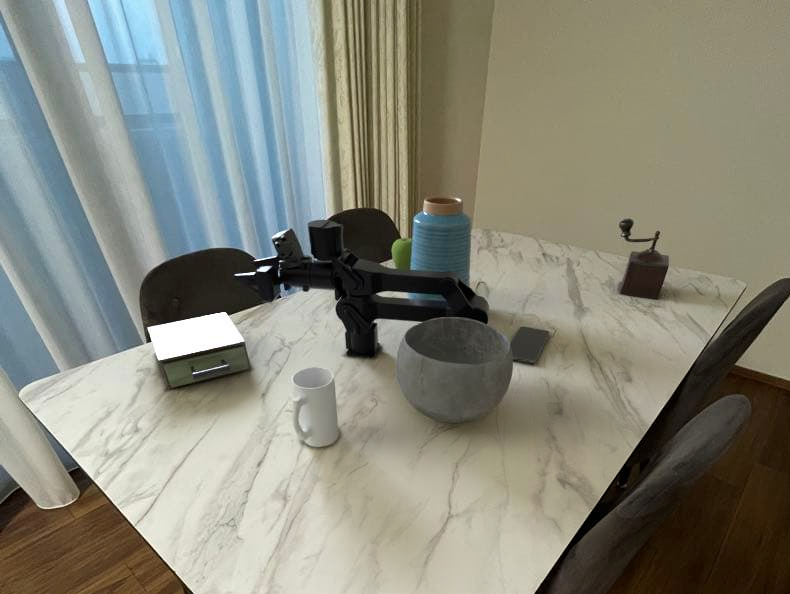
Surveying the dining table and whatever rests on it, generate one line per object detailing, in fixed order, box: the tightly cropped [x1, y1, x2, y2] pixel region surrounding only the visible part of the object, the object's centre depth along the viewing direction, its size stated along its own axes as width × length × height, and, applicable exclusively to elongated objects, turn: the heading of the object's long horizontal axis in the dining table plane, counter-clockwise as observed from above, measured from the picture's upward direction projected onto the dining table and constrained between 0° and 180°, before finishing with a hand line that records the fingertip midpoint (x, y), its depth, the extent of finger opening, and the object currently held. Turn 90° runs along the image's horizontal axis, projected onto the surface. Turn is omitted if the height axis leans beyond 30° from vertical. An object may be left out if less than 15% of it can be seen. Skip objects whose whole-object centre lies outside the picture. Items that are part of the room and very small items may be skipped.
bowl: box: [395, 317, 514, 424], centre depth 85 cm, size 20×20×15 cm
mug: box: [291, 366, 340, 448], centre depth 78 cm, size 10×7×12 cm, turn 157°
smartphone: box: [510, 325, 550, 364], centre depth 109 cm, size 7×1×16 cm
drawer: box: [163, 346, 250, 387], centre depth 98 cm, size 20×15×5 cm
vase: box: [407, 195, 473, 301], centre depth 117 cm, size 16×16×27 cm
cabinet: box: [146, 311, 252, 390], centre depth 101 cm, size 17×17×7 cm
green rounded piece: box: [391, 236, 412, 270], centre depth 142 cm, size 9×8×12 cm
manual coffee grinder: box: [618, 218, 670, 300], centre depth 133 cm, size 16×11×18 cm
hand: (244, 270), depth 100 cm, fingers open, 9 cm apart
